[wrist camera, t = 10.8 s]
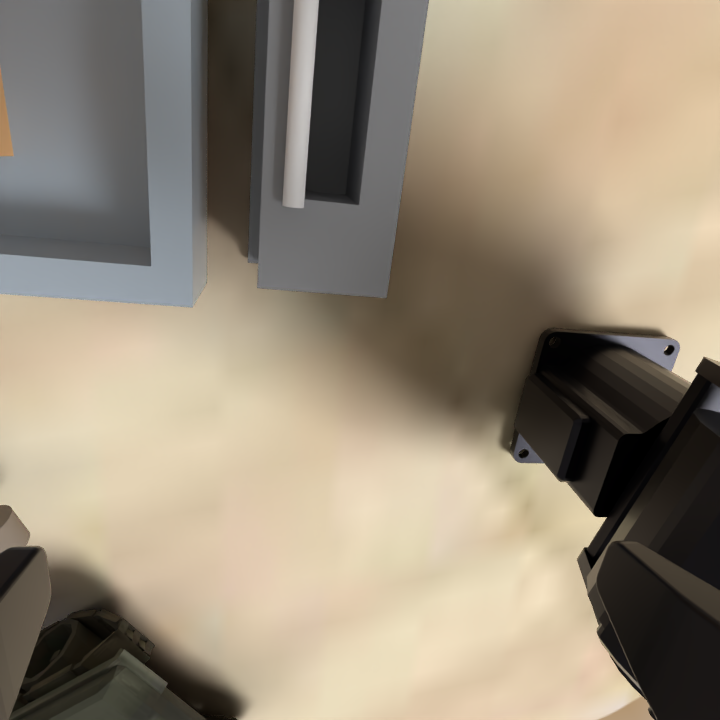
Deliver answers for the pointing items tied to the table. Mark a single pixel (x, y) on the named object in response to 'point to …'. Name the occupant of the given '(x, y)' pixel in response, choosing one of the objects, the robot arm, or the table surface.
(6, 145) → the tan wooden block
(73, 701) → the toy tank
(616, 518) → the robot arm
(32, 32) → the tray
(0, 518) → the figurine character
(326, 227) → the dispenser
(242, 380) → the table surface
